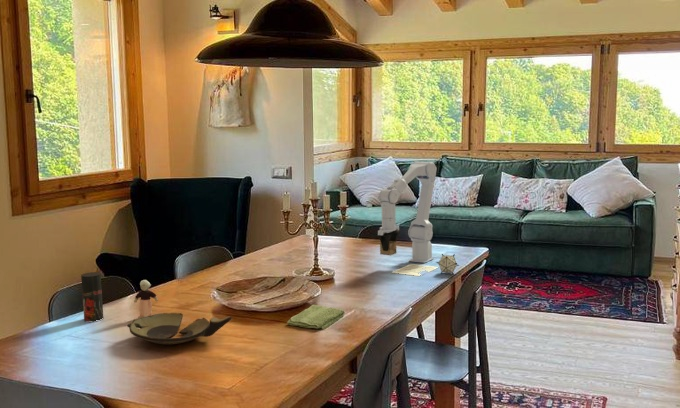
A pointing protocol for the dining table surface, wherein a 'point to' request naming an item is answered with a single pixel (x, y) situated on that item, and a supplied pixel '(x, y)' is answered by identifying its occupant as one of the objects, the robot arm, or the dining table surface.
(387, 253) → the walnut block
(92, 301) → the deodorant
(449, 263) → the game die
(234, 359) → the dining table surface
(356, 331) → the dining table surface
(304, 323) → the washcloth
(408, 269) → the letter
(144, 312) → the grandmother figurine
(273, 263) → the dining table surface
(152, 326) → the oil lamp
